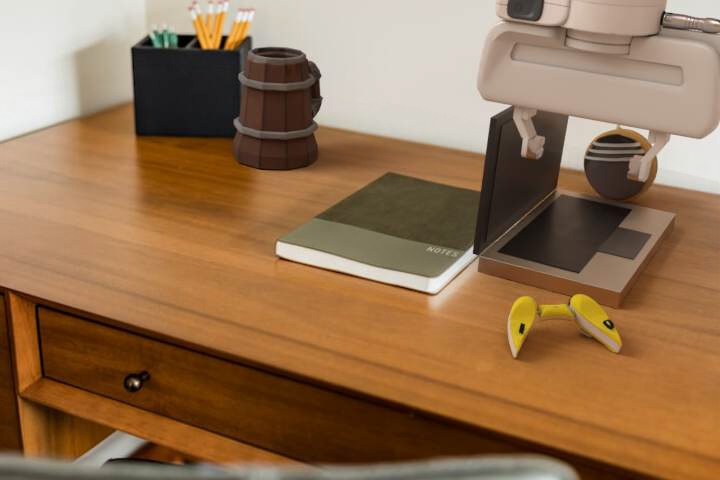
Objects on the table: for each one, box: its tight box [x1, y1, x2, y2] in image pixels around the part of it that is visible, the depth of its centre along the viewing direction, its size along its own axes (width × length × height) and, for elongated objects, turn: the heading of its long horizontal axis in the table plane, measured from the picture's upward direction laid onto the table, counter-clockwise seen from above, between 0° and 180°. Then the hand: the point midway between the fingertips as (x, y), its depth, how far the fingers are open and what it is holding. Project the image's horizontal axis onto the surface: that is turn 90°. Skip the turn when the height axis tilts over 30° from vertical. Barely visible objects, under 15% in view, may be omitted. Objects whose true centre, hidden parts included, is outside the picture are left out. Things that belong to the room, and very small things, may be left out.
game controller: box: [506, 294, 623, 359], centre depth 82 cm, size 10×6×4 cm, turn 100°
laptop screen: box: [472, 105, 570, 256], centre depth 103 cm, size 15×26×1 cm
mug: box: [232, 46, 324, 171], centre depth 127 cm, size 16×12×15 cm
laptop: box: [477, 188, 677, 309], centre depth 103 cm, size 15×26×2 cm, turn 150°
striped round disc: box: [583, 124, 659, 203], centre depth 117 cm, size 9×4×10 cm, turn 51°
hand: (583, 167), depth 78 cm, fingers open, 8 cm apart
